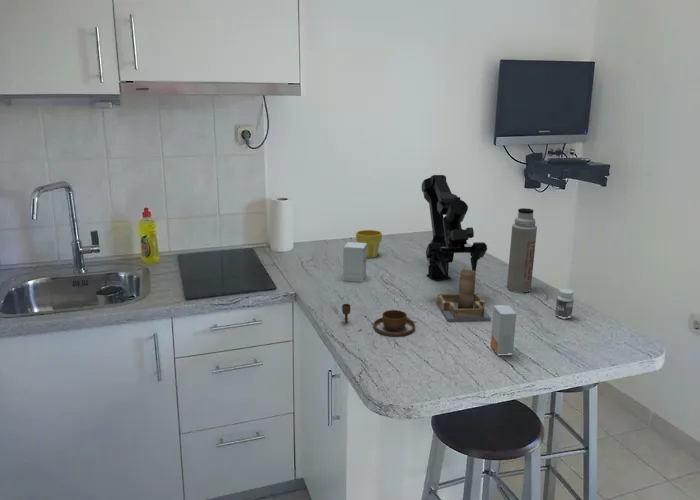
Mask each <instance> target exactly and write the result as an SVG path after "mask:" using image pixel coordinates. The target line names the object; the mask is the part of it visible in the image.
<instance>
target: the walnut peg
mask: <svg viewBox="0 0 700 500" xmlns="http://www.w3.org/2000/svg"><path fill="white" fill-rule="evenodd" d="M476 275H477V272H475V271H473V270H472V269H461V270H460V273H459V287H458V290H459V291H458V294H459V300H458V309H470V308H473V303H474V294H475V290H476V289H475V287H476Z"/></svg>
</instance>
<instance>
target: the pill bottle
mask: <svg viewBox="0 0 700 500" xmlns="http://www.w3.org/2000/svg"><path fill="white" fill-rule="evenodd" d="M573 296H574V291H573V290H572V289H568V288H561V289H559V291H558V296H557V298H556V306H555V312H554V315H555V314H556V315H558V316H562V317H568V316H571V315H573V309H574V308H573V307H574V300H575V299H574V297H573Z"/></svg>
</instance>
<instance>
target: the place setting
mask: <svg viewBox="0 0 700 500" xmlns="http://www.w3.org/2000/svg"><path fill="white" fill-rule="evenodd" d="M341 311H342V315H344V319H343V320H344V322H345V324H348V323H349V317H348V315H349V314H350V313H351V304H350V303H349V304H348V303H343V304H342V305H341ZM380 324H382V325H383V326H384V327H385V328H386V329H388V330H389V331H385V330H383V329H380V328H378V327H377V326H379V325H380ZM416 324H417V322H416V321H414V320H412V319H410V318H409V317H408V315H407V313H406V312H405V311H402V310H400V309H399V310H397V309H389V310H385V311H384V312H383V313H382V317H380V318H378V319H376V320H375V321H374V322H373V328H374V330H375V331H376V333H379V334H380V335H384V336H388V337H403V336H408V335H410V334H412V333H414V331H415V329H416ZM406 325H409V326H410V327H411V329H409V330H407V331H402V332H397V331H400V330H401V329H403V328H404V327H405V326H406ZM357 331H358V332H361V329H359V330H357ZM391 331H393V332H391Z"/></svg>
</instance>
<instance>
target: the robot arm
mask: <svg viewBox="0 0 700 500" xmlns="http://www.w3.org/2000/svg"><path fill="white" fill-rule="evenodd" d="M421 192H422V194H423V198H424V200H425V201H427V203H428V205H429V213H430V222H431V232H432V239H431V242H429V243H428V245H427V247H426V250H425V256H426V261H427V262H428V263H429V264H428V272H427V274H426V277H428V278H430V279H431V280H434V281H443V280H448V279H449V280H450V279H451V278H452V277H451V276H449V265H450V263H453V262H454V255H455V254H465V253H466V254H467V253H468V254H470V256H471V257H470V267H471V270H473V271H475V272H476V271H477V265H478V261H479V260H480V259H481V258H484V256H485V255H486V253H487V251H488V246H487V244H486V242H484V241H482V242H481V241H480V242H475V241H474V242H473V243H472V245H471V246H466V245H467V243H468V241H469V239H473V238H474V236H475V233H474V227H473V226H471V227H469V226H468V227H466V228H465V229H464V228H462V222H463V221H464V219H465V217H466V215H467V212H468V210H469V206H468V204H467V203H466V202H465V201H464V200H462V199H461V196H458V195H457V194H454V193H452V191H451V188H450V186H449V185H448V182H447V176H446V175H444V174H433V175H431V176H430V177H428V178H425V179H423V180H422V183H421ZM444 215H445V216H444ZM476 273H477V272H476Z"/></svg>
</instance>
